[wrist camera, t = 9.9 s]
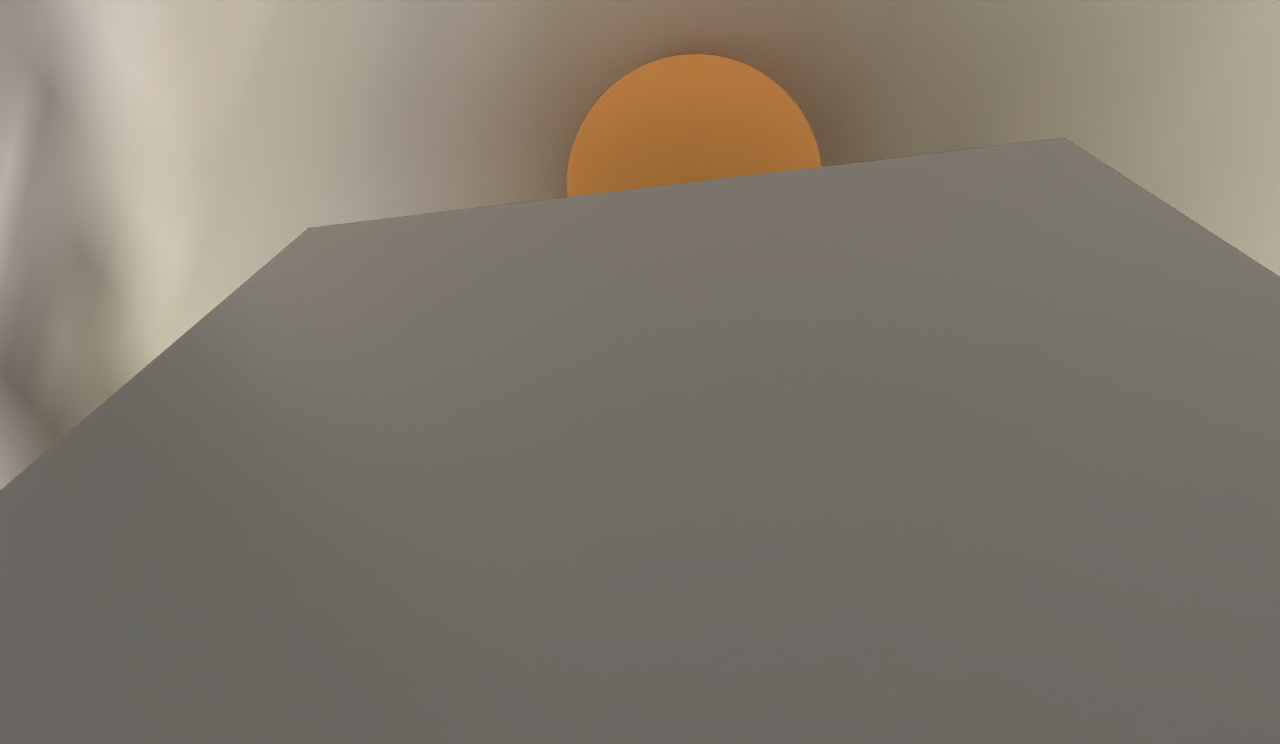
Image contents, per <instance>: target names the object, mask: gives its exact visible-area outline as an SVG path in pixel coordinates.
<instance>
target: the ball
mask: <svg viewBox="0 0 1280 744" xmlns="http://www.w3.org/2000/svg"><path fill="white" fill-rule="evenodd" d="M815 167H822V166H821V159H820V153H819V150H818V146H817V143H816V139H815V137H814V134H813V132H812V130H811V127H810V125H809V123H808V121H807V119H806V118H805V116H804V114H803V113H802V111H801V109H800V108H799V106H798V105H797V104H796V103H795V102H794V100H793V99H792V98H791V97H790V95H789V94H788V93H787V92H786V91H785V90H784V89H783V88H782V87H780V86H779V85H778V84H777V83H776V82H775V81H773V80H772V79H771V78H769V77H768V76H766V75H765V74H764V73H762V72H760V71H759V70H757V69H755V68H753V67H751V66H749V65H747V64H744V63H742V62H739V61H736V60H733V59H730V58H726V57H721V56H716V55H707V54H686V55H676V56H671V57H667V58H662V59H659V60H656V61H653V62H651V63H648V64H645V65H643V66H641V67H639V68H637V69H635V70H633V71H631V72H630V73H628V74H627V75H625V76H624V77H623V78H621V79H620V80H618V81H617V82H616V83H615V84H613V85H612V86H611V87H610V88H609V89H608V90H607V91H606V92H605V93H604V94H603V95H602V96H601V97H600V98H599V100H598V101H597V102H596V103H595V104H594V105H593V107H592V108H591V110H590V111H589V113H588V114H587V116H586V117H585V119H584V121H583V123H582V125H581V127H580V129H579V131H578V133H577V135H576V138H575V141H574V144H573V147H572V150H571V154H570V159H569V164H568V170H567V184H566V188H567V197H572V196H580V195H589V194H597V193H606V192H614V191H622V190H631V189H639V188H647V187H656V186H664V185H672V184H681V183H689V182H697V181H706V180H714V179H723V178H731V177H739V176H748V175H756V174H764V173H773V172H781V171H789V170H798V169H806V168H815Z"/></svg>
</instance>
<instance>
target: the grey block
mask: <svg viewBox="0 0 1280 744" xmlns="http://www.w3.org/2000/svg"><path fill="white" fill-rule="evenodd" d="M0 744H1280V277H1279V276H1278V275H1276V274H1275V273H1273V272H1272V271H1270V270H1269V269H1267V268H1265V267H1264V266H1262V265H1261V264H1259V263H1258V262H1256V261H1255V260H1253V259H1252V258H1250V257H1248V256H1247V255H1245V254H1244V253H1242V252H1241V251H1239V250H1238V249H1236V248H1234V247H1233V246H1231V245H1230V244H1228V243H1227V242H1225V241H1224V240H1222V239H1221V238H1219V237H1217V236H1216V235H1214V234H1213V233H1211V232H1210V231H1208V230H1207V229H1205V228H1204V227H1202V226H1200V225H1199V224H1197V223H1196V222H1194V221H1193V220H1191V219H1190V218H1188V217H1186V216H1185V215H1183V214H1182V213H1180V212H1179V211H1177V210H1176V209H1174V208H1173V207H1171V206H1169V205H1168V204H1166V203H1165V202H1163V201H1162V200H1160V199H1159V198H1157V197H1156V196H1154V195H1152V194H1151V193H1149V192H1148V191H1146V190H1145V189H1143V188H1142V187H1140V186H1138V185H1137V184H1135V183H1134V182H1132V181H1131V180H1129V179H1128V178H1126V177H1125V176H1123V175H1121V174H1120V173H1118V172H1117V171H1115V170H1114V169H1112V168H1111V167H1109V166H1108V165H1106V164H1104V163H1103V162H1101V161H1100V160H1098V159H1097V158H1095V157H1094V156H1092V155H1090V154H1089V153H1087V152H1086V151H1084V150H1083V149H1081V148H1080V147H1078V146H1077V145H1075V144H1073V143H1072V142H1070V141H1069V140H1067V139H1066V138H1057V139H1049V140H1040V141H1032V142H1024V143H1015V144H1007V145H998V146H990V147H982V148H973V149H965V150H957V151H948V152H940V153H932V154H923V155H915V156H906V157H898V158H890V159H881V160H873V161H865V162H856V163H848V164H840V165H831V166H823V167H815V168H806V169H798V170H789V171H781V172H773V173H764V174H756V175H748V176H739V177H731V178H723V179H714V180H706V181H697V182H689V183H681V184H672V185H664V186H656V187H647V188H639V189H631V190H622V191H614V192H606V193H597V194H589V195H580V196H572V197H564V198H555V199H547V200H539V201H530V202H522V203H514V204H505V205H497V206H488V207H480V208H472V209H463V210H455V211H447V212H438V213H430V214H422V215H413V216H405V217H396V218H388V219H380V220H371V221H363V222H355V223H346V224H338V225H330V226H321V227H313V228H308V229H307V230H306V231H305V232H303V233H302V234H301V235H300V236H299V237H298V238H296V239H295V240H294V241H293V242H292V243H290V244H289V245H288V246H287V247H286V248H285V249H283V250H282V251H281V252H280V253H279V254H278V255H276V256H275V257H274V258H273V259H272V260H271V261H269V262H268V263H267V264H266V265H265V266H263V267H262V268H261V269H260V270H259V271H258V272H256V273H255V274H254V275H253V276H252V277H251V278H249V279H248V280H247V281H246V282H245V283H243V284H242V285H241V286H240V287H239V288H238V289H236V290H235V291H234V292H233V293H232V294H231V295H229V296H228V297H227V298H226V299H225V300H224V301H222V302H221V303H220V304H219V305H218V306H216V307H215V308H214V309H213V310H212V311H211V312H209V313H208V314H207V315H206V316H205V317H204V318H202V319H201V320H200V321H199V322H198V323H197V324H195V325H194V326H193V327H192V328H191V329H189V330H188V331H187V332H186V333H185V334H184V335H182V336H181V337H180V338H179V339H178V340H177V341H175V342H174V343H173V344H172V345H171V346H170V347H168V348H167V349H166V350H165V351H164V352H162V353H161V354H160V355H159V356H158V357H157V358H155V359H154V360H153V361H152V362H151V363H150V364H148V365H147V366H146V367H145V368H144V369H143V370H141V371H140V372H139V373H138V374H137V375H135V376H134V377H133V378H132V379H131V380H130V381H128V382H127V383H126V384H125V385H124V386H123V387H121V388H120V389H119V390H118V391H117V392H116V393H114V394H113V395H112V396H111V397H110V398H108V399H107V400H106V401H105V402H104V403H103V404H101V405H100V406H99V407H98V408H97V409H96V410H94V411H93V412H92V413H91V414H90V415H89V416H87V417H86V418H85V419H84V420H83V421H81V422H80V423H79V424H78V425H77V426H76V427H74V428H73V429H72V430H71V431H70V432H69V433H67V434H66V435H65V436H64V437H63V438H61V439H60V440H59V441H58V442H57V443H56V444H54V445H53V446H52V447H51V448H50V449H49V450H47V451H46V452H45V453H44V454H43V455H42V456H40V457H39V458H38V459H37V460H36V461H34V462H33V463H32V464H31V465H30V466H29V467H27V468H26V469H25V470H24V471H23V472H22V473H20V474H19V475H18V476H17V477H16V478H15V479H13V480H12V481H11V482H10V483H9V484H7V485H6V486H5V487H4V488H3V489H2V490H0Z"/></svg>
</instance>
